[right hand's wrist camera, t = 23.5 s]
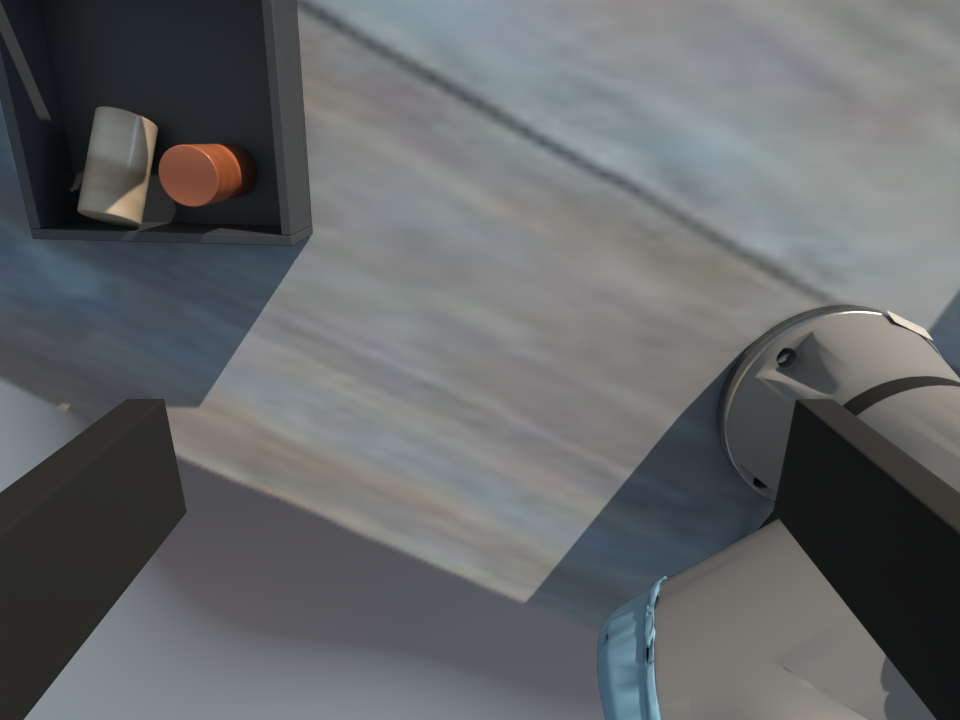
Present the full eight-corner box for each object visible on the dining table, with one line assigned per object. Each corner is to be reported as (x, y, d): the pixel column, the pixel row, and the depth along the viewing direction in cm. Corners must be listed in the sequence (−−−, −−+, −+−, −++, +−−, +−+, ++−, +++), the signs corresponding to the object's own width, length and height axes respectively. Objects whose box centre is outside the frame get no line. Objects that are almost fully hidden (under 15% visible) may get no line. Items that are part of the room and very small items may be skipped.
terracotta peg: (258, 199, 38) (220, 210, 32) (207, 194, 38) (160, 204, 32) (257, 146, 37) (216, 147, 31) (204, 141, 37) (154, 141, 31)
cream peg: (169, 133, 36) (153, 229, 36) (122, 129, 37) (105, 223, 37) (133, 108, 33) (114, 213, 33) (81, 103, 34) (63, 207, 33)
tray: (312, 234, 39) (292, 246, 35) (81, 228, 39) (32, 239, 35) (280, -236, 31) (247, -297, 27) (-15, -247, 31) (-95, -310, 27)
